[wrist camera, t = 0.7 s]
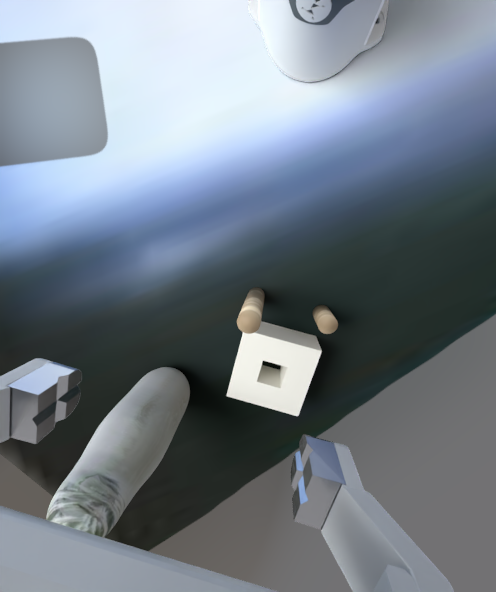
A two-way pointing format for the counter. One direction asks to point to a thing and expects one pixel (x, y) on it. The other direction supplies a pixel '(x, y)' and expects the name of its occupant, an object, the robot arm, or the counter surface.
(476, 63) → the counter surface
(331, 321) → the short pin
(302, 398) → the hole block
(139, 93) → the counter surface
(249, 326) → the long pin
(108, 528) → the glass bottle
